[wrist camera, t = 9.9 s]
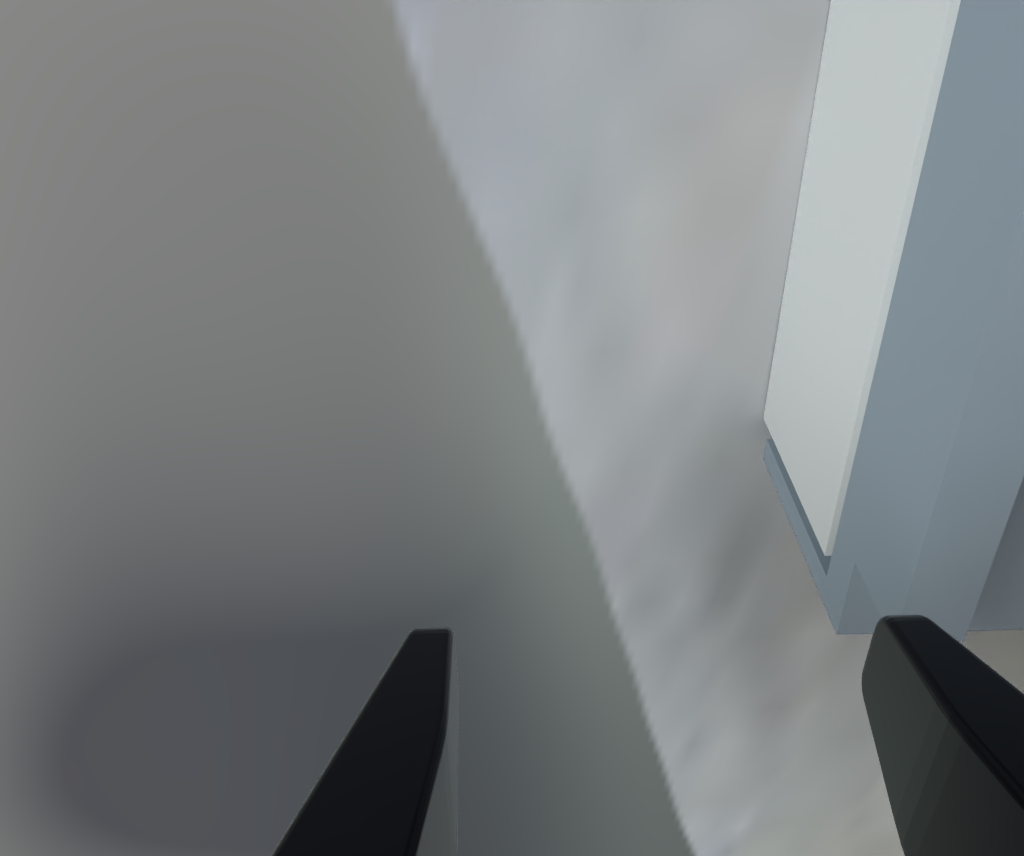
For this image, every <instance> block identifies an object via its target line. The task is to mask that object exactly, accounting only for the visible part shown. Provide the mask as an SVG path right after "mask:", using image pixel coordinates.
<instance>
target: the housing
mask: <svg viewBox="0 0 1024 856" xmlns="http://www.w3.org/2000/svg"><path fill="white" fill-rule="evenodd" d="M960 2H961V0H831V4H830V10H829V16H828V22H827V28H826V35H825V41H824V47H823V53H822V59H821V65H820V72H819V78H818V84H817V90H816V96H815V103H814V109H813V115H812V121H811V127H810V134H809V140H808V146H807V152H806V158H805V164H804V171H803V177H802V183H801V189H800V195H799V202H798V208H797V214H796V220H795V226H794V232H793V239H792V245H791V251H790V257H789V263H788V270H787V276H786V282H785V288H784V294H783V300H782V307H781V313H780V319H779V325H778V331H777V338H776V344H775V350H774V356H773V362H772V368H771V375H770V381H769V387H768V393H767V399H766V406H765V412H764V420H765V422H766V425H767V427H768V429H769V431H770V434H771V436H772V438H773V440H774V443H775V445H776V447H777V449H778V452H779V454H780V456H781V458H782V461H783V463H784V465H785V467H786V470H787V472H788V474H789V476H790V479H791V481H792V483H793V486H794V488H795V490H796V492H797V495H798V497H799V499H800V501H801V504H802V506H803V508H804V510H805V513H806V515H807V517H808V519H809V522H810V524H811V526H812V528H813V531H814V533H815V535H816V537H817V540H818V542H819V544H820V546H821V549H822V551H823V553H824V555H825V556H832V552H833V547H834V543H835V539H836V534H837V530H838V526H839V522H840V517H841V513H842V509H843V504H844V500H845V496H846V491H847V487H848V483H849V479H850V474H851V470H852V466H853V461H854V457H855V453H856V449H857V444H858V440H859V436H860V431H861V427H862V423H863V418H864V414H865V410H866V406H867V401H868V397H869V393H870V388H871V384H872V380H873V375H874V371H875V367H876V363H877V358H878V354H879V350H880V345H881V341H882V337H883V332H884V328H885V324H886V320H887V315H888V311H889V307H890V302H891V298H892V294H893V290H894V285H895V281H896V277H897V272H898V268H899V264H900V259H901V255H902V251H903V247H904V242H905V238H906V234H907V229H908V225H909V221H910V216H911V212H912V208H913V204H914V199H915V195H916V191H917V186H918V182H919V178H920V174H921V169H922V165H923V161H924V156H925V152H926V148H927V143H928V139H929V135H930V131H931V126H932V122H933V118H934V113H935V109H936V105H937V100H938V96H939V92H940V88H941V83H942V79H943V75H944V70H945V66H946V62H947V58H948V53H949V49H950V45H951V40H952V36H953V32H954V27H955V23H956V19H957V15H958V10H959V6H960Z"/></svg>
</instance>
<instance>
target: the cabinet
mask: <svg viewBox="0 0 1024 856" xmlns="http://www.w3.org/2000/svg"><path fill="white" fill-rule="evenodd" d="M764 462H765V464H766V466H767V469H768V471H769V474H770V476H771V478H772V481H773V483H774V486H775V488H776V490H777V493H778V495H779V498H780V500H781V502H782V505H783V507H784V510H785V512H786V514H787V517H788V519H789V522H790V524H791V526H792V529H793V531H794V534H795V536H796V538H797V541H798V543H799V546H800V548H801V550H802V553H803V555H804V558H805V560H806V562H807V565H808V567H809V570H810V572H811V574H812V577H813V579H814V582H815V584H816V586H817V589H818V591H819V594H820V596H821V598H822V601H823V603H824V606H825V608H826V610H827V613H828V615H829V618H830V620H831V622H832V625H833V627H834V630H835V632H836V634H873V633H874V630H875V627H876V624H877V622H878V621H879V619H880V618H882V617H883V616H887V615H922V616H925V617H927V618H929V619H930V620H932V621H933V622H934V623H936V624H937V625H938V626H939V627H941V628H942V629H943V630H944V631H946V632H947V633H948V634H949V635H951V636H952V637H953V638H954V639H956V640H957V641H964V640H965V637H966V634H967V632H968V631H985V630H1022V629H1024V0H961V2H960V6H959V10H958V15H957V19H956V23H955V27H954V32H953V36H952V40H951V45H950V49H949V53H948V58H947V62H946V66H945V70H944V75H943V79H942V83H941V88H940V92H939V96H938V100H937V105H936V109H935V113H934V118H933V122H932V126H931V131H930V135H929V139H928V143H927V148H926V152H925V156H924V161H923V165H922V169H921V174H920V178H919V182H918V186H917V191H916V195H915V199H914V204H913V208H912V212H911V216H910V221H909V225H908V229H907V234H906V238H905V242H904V247H903V251H902V255H901V259H900V264H899V268H898V272H897V277H896V281H895V285H894V290H893V294H892V298H891V302H890V307H889V311H888V315H887V320H886V324H885V328H884V332H883V337H882V341H881V345H880V350H879V354H878V358H877V363H876V367H875V371H874V375H873V380H872V384H871V388H870V393H869V397H868V401H867V406H866V410H865V414H864V418H863V423H862V427H861V431H860V436H859V440H858V444H857V449H856V453H855V457H854V461H853V466H852V470H851V474H850V479H849V483H848V487H847V491H846V496H845V500H844V504H843V509H842V513H841V517H840V522H839V526H838V530H837V534H836V539H835V543H834V547H833V552H832V556H825V555H824V553H823V551H822V549H821V546H820V544H819V542H818V540H817V537H816V535H815V533H814V531H813V528H812V526H811V524H810V522H809V519H808V517H807V515H806V513H805V510H804V508H803V506H802V504H801V501H800V499H799V497H798V495H797V492H796V490H795V488H794V486H793V483H792V481H791V479H790V476H789V474H788V472H787V470H786V467H785V465H784V463H783V461H782V458H781V456H780V454H779V452H778V449H777V447H776V445H775V443H774V440H773V439H767V441H766V447H765V453H764Z"/></svg>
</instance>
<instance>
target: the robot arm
mask: <svg viewBox="0 0 1024 856" xmlns="http://www.w3.org/2000/svg"><path fill="white" fill-rule="evenodd" d="M862 692H863V698H864V702H865V706H866V710H867V714H868V718H869V722H870V726H871V730H872V734H873V737H874V741H875V745H876V749H877V753H878V757H879V761H880V765H881V769H882V773H883V777H884V781H885V785H886V789H887V793H888V797H889V801H890V805H891V809H892V813H893V816H894V820H895V824H896V828H897V831H898V835H899V838H900V842H901V846H902V848H903V851H904V854H905V856H1024V694H1023V693H1022V692H1020V691H1019V690H1018V689H1017V688H1015V687H1014V686H1013V685H1012V684H1010V683H1009V682H1008V681H1007V680H1005V679H1004V678H1003V677H1002V676H1000V675H999V674H998V673H997V672H995V671H994V670H993V669H992V668H990V667H989V666H988V665H987V664H986V663H984V662H983V661H982V660H981V659H979V658H978V657H977V656H976V655H974V654H973V653H972V652H971V651H969V650H968V649H967V648H966V647H964V646H963V645H962V644H961V643H959V642H958V641H957V640H956V639H954V638H953V637H952V636H951V635H949V634H948V633H947V632H946V631H944V630H943V629H942V628H941V627H939V626H938V625H937V624H936V623H934V622H933V621H932V620H930V619H929V618H927V617H925V616H922V615H887V616H883V617H882V618H880V619H879V621H878V622H877V624H876V627H875V630H874V633H873V637H872V640H871V644H870V647H869V651H868V654H867V658H866V661H865V665H864V669H863V673H862ZM458 704H459V703H458V678H457V663H456V649H455V636H454V632H453V631H452V629H450V628H448V627H432V628H431V627H430V628H414V629H413V630H411V631H410V632H409V633H408V635H407V636H406V637H405V639H404V641H403V642H402V644H401V646H400V647H399V649H398V650H397V652H396V654H395V655H394V657H393V658H392V660H391V662H390V663H389V665H388V667H387V668H386V670H385V671H384V673H383V675H382V676H381V678H380V680H379V681H378V683H377V684H376V686H375V688H374V689H373V691H372V692H371V694H370V696H369V697H368V699H367V701H366V702H365V704H364V705H363V707H362V709H361V710H360V712H359V714H358V715H357V717H356V718H355V720H354V722H353V723H352V725H351V727H350V728H349V730H348V732H347V733H346V735H345V736H344V738H343V739H342V741H341V743H340V744H339V746H338V748H337V749H336V751H335V752H334V754H333V756H332V757H331V759H330V761H329V762H328V764H327V765H326V767H325V769H324V770H323V772H322V774H321V775H320V777H319V778H318V780H317V782H316V783H315V785H314V786H313V788H312V790H311V791H310V793H309V795H308V796H307V798H306V799H305V801H304V803H303V804H302V806H301V808H300V810H299V811H298V812H297V814H296V816H295V817H294V819H293V821H292V822H291V824H290V825H289V827H288V829H287V830H286V832H285V833H284V835H283V837H282V839H281V840H280V842H279V843H278V845H277V846H276V848H275V850H274V851H273V853H272V855H271V856H457V835H458V832H457V831H458V711H459V709H458V708H459V705H458Z"/></svg>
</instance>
